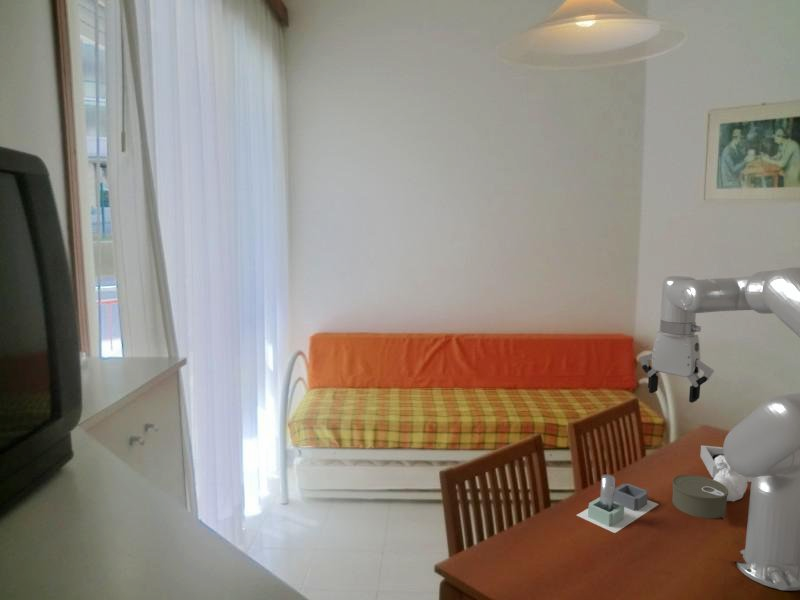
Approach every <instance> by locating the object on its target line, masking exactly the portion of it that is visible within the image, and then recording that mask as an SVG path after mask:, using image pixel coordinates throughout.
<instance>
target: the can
mask: <svg viewBox="0 0 800 600" xmlns="http://www.w3.org/2000/svg"><path fill="white" fill-rule="evenodd" d="M713 479H714V478H710V477H706V476H702V475H697V474H696V475H695V474H683V475H682V474H681V475H677V476H675V477H674V478H673V479H672V499H671V500H672V504H673V505H674V507H675V508H677V509H678V510H679V511H681V512H682V513H685V514H687V515H690V516H693V517H695V518H700V519H701V518H702V519H710V520H711V519H714V520H715V519H719V518H722V520H723V521H725V520H726V511H727V504H728V501H727V496H728V489H727V488H726V487H725V486H724V485H723V484H721V483H720V482H718V481H715V480H713Z"/></svg>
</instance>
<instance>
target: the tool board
mask: <svg viewBox="0 0 800 600" xmlns="http://www.w3.org/2000/svg"><path fill="white" fill-rule="evenodd" d="M648 493H649V491H648V490H647V489H644V488H641V487H638V486H635V485H633V484H630V483H627V482H626V484H625V483H622V484H620V485H618V486H617V487H615V490H614V507H613V511H611V512H608V511H606V510H604V509H601V508H600V496H599V497H597V498H596V499H594V500H592V501H591V502H588V505H587V506H588V508H586V509H584V510H583V511H581V512H580V513H577V514H576V516H577V517H579V518H581V519H583V520H585V521H587V522H590V523H592V524H594V525H597V526H598V527H601V528H603V529H604V530H607V531H610V532H611V533H614V534H616V533H618V532H619V531H621V530H622V529H623V528H625V527H626V526H628V525H629V524H632V523H633V522H635V521H636V520H638V519H639V518H640V517H642V516H644V515H645V514H646V513H648V512H650V511H651V510H653V509H654V508H656V507H657V506H659V503H657V502H654V501H651V500H649V499H648V497H649V494H648Z"/></svg>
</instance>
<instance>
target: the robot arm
mask: <svg viewBox="0 0 800 600" xmlns="http://www.w3.org/2000/svg"><path fill="white" fill-rule="evenodd" d="M661 288H662V290H661V304H660V307H661V308H660V323H659V330H658V331H657V332H656V335H655V338H654V342H653V348H652V351H651V353H649V354H646V355H642V356H639V357H638V360H639V362H640V365H641V369H642V370H643V371H644V372H645V373H646V376H647V378H648V381H647V388H648V393H649V394H653V393H655V392H657V391H658V389H659V376H658V375H657V374H658V373H663V374H668V375H671V376H678V377H682V378H687V379H688V381H689V382H690V383H691V385H690V387H689V393H688V394H689V396H688V397H689V399H688V402H689V403H691V404H693V403H695V402H697V401H698V400H699V398H700V395H701V394H700V393H701V385H703V384H704V383H706V382H707V381H708V380H710V378H711V377H712V375H713V374H714V369H713V368H711V367H710V366H709V365H707V364H706V363H704V362H702V361H701V347H700V346H701V345H700V339H699V335H698V334H696V333H697V332H698V333H699V332H702V331H701V330H702V327H701V326H700V325H697V322H696V316H697V315H696V314H704V313H706V314H707V313H718V312H733V311H754V312H756V313H757V314H765V315H766V314H770V315H771V314H774V316H776V317H777V318H778V319H779V320H780V322H782V323H783V324H784V325H785V326H786V327H787V328H789V329H790V330H791V331H792V332H793V333H794V334H795V335H796V336H798V337H799V338H800V267H799V266H798V267H797V266H796V267H786V268H781V269H779V270H778V269H775V270H763V271H757V272H755V273H753V274H752V275H751V276H740V277H726V278H725V277H724V278H722V277H721V278H704V279H696V278H694V277H691V276H683V275H682V276H681V275H677V276H676V275H675V276H674V275H673V276H666V277H665V278H664V279H663V281H662V287H661ZM649 360H651V365H650V364H649V362H648V361H649ZM700 371H702V372H703V374H702V376H699V373H700ZM722 447H723V453H724V457H725V460H726V462H727V464H728V465H729V466H730V467H731V468H732V469H733V470H734V471H735V472H737V473H739V474H741V475H743V476H746V477H753V479H752V482H750V483H751V484H750V493H749V494H750V495H749V500H748V501H749V503H748V511H747V513H748V515H747V525H746V526H747V527H746V536H745V547H744V548H743V549H742V550H739V553H740V555H741V556H742V559H743V560H744V561H737V560H735V566H736V567H737V569H739V571H740V572H741V573H742V574H743V575H745V576H746V577H748V578H749V579H751V580H752V581H754V582H756V583H758V584H760V585H763V586H766V587H768V588H771V589H772V588H773V589H776V590H779V591H790V592H791V591H792V592H793V591H800V392H795V393H789V394H782V395H778V396H773V397H771V398H768V399H766V400H765V401H763V402H761V403H760V404H759V405H758V406H757V407H755V408H754V409H753V410H751V412H750V413H749V414H747V415H746V416H745V417H744V418H743V419H742V420H741V421H739V422H738V423H737V424H736V425H735V426H734V427H732V429H730V430H729V432H728V434H727V435H726V436H725V439H724V442H723V446H722Z"/></svg>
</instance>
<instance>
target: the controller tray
mask: <svg viewBox="0 0 800 600" xmlns="http://www.w3.org/2000/svg"><path fill="white" fill-rule="evenodd" d="M716 454H723V455H724V453H723V446H712V445H711V446H710V445H700V454H699V455H700V458H701V460H702V462H703V464H704V465H705V467H706V469H707V471H708V473H709V474H710V477H711V479H714V477H715V475H716V474H717V473H718V472H719V471H720V468H719V469H717V466H716V464H715V461H714V460H713V458H712V457H713V456H714V455H716ZM745 478H746V481H747V483H752V479H753V477H746V476H745Z"/></svg>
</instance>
